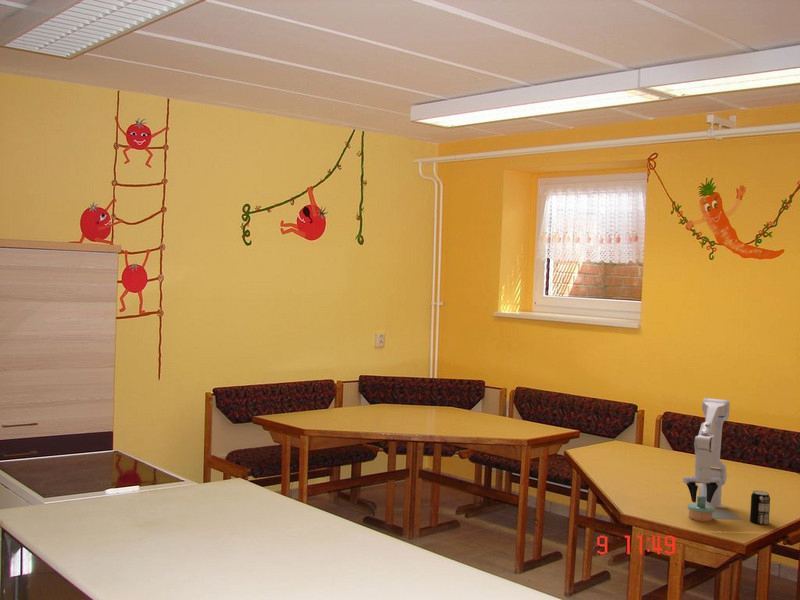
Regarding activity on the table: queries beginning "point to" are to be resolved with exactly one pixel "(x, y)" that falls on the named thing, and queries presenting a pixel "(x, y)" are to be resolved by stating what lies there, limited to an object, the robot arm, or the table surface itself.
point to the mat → (724, 514)
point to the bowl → (700, 515)
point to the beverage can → (760, 507)
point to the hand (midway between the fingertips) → (701, 501)
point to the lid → (701, 506)
